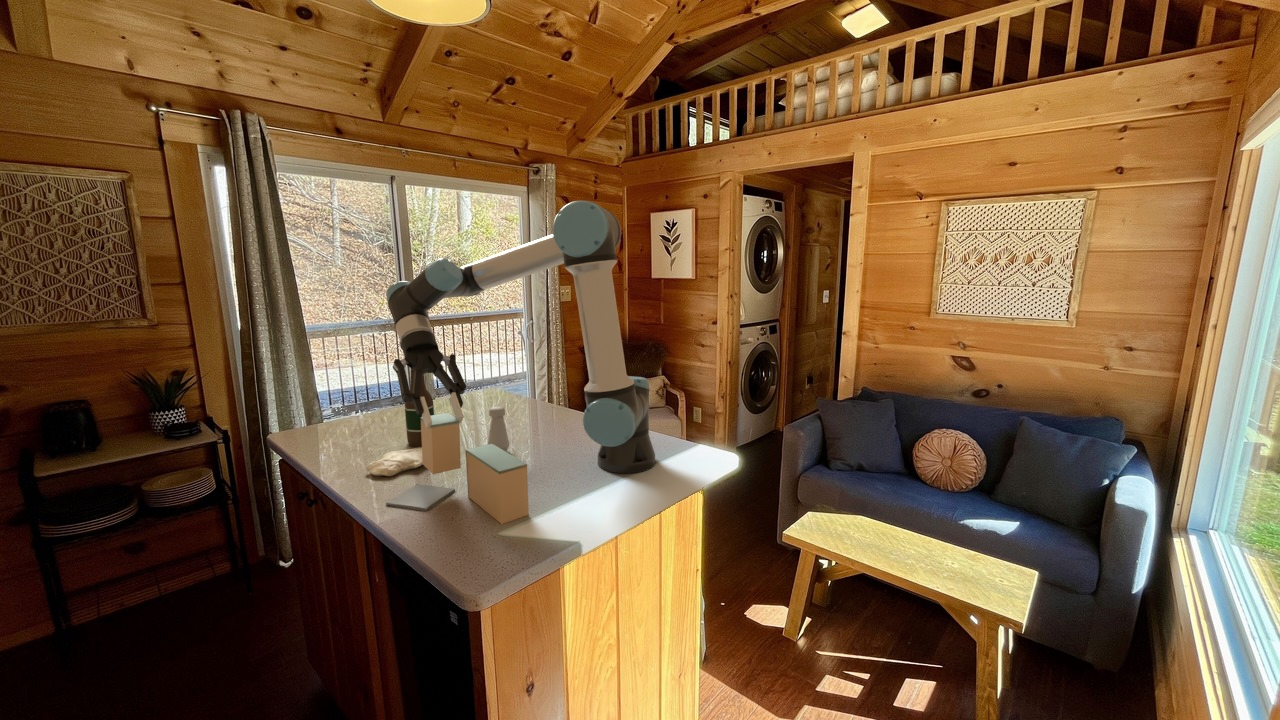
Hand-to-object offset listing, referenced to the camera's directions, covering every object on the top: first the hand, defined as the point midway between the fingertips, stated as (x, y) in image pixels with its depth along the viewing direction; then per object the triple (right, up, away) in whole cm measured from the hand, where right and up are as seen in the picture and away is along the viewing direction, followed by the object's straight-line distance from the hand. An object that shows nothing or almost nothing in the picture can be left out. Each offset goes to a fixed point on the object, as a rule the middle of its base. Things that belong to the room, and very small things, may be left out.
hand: (445, 422), depth 110 cm
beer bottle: (-22, -11, +39) cm, 46 cm away
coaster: (-6, -17, +2) cm, 18 cm away
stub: (-3, -10, +5) cm, 12 cm away
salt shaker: (+3, -12, +31) cm, 33 cm away
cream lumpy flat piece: (-18, -14, +22) cm, 32 cm away
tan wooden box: (+12, -18, -1) cm, 21 cm away
